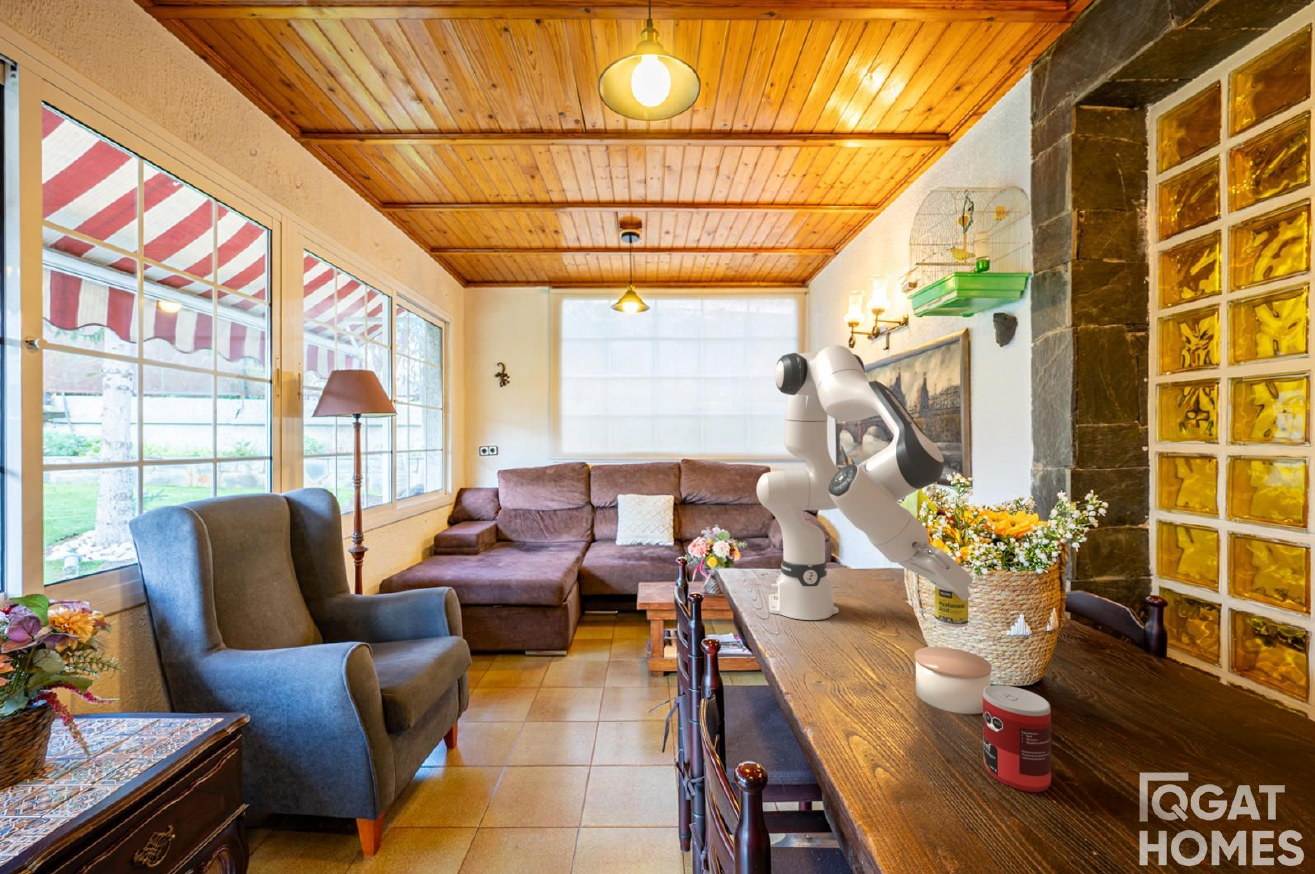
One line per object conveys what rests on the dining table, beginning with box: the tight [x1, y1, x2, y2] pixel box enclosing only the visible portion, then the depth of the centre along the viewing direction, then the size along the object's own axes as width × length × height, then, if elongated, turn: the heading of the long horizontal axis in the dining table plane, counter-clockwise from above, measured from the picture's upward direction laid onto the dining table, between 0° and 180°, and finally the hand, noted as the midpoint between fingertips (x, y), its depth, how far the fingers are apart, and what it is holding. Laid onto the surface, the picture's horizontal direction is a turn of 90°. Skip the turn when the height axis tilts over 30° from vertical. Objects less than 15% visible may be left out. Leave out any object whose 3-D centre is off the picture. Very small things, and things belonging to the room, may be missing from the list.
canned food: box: [982, 684, 1052, 793], centre depth 76 cm, size 8×8×11 cm
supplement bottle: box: [934, 583, 969, 629], centre depth 99 cm, size 5×5×10 cm
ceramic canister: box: [914, 646, 993, 715], centre depth 99 cm, size 12×12×7 cm
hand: (954, 591), depth 99 cm, fingers closed on supplement bottle, 5 cm apart
